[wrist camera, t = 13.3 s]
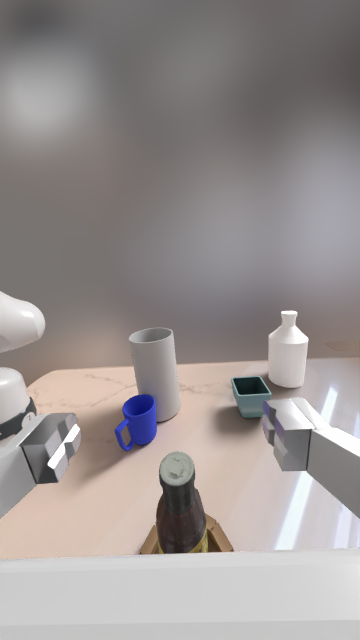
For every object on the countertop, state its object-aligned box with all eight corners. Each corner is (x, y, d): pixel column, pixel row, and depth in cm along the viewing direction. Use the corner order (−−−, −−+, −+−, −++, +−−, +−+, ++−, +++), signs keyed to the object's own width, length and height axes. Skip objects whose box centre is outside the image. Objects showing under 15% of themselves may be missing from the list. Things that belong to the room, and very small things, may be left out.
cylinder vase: (183, 419, 55) (175, 339, 49) (140, 426, 54) (125, 345, 47) (178, 392, 67) (170, 325, 60) (142, 398, 66) (131, 330, 59)
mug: (110, 455, 46) (102, 422, 43) (142, 420, 56) (137, 391, 53) (136, 470, 42) (129, 434, 39) (165, 429, 52) (161, 398, 50)
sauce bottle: (184, 640, 22) (165, 522, 17) (155, 576, 26) (134, 469, 21) (220, 580, 26) (214, 470, 21) (189, 534, 30) (178, 435, 25)
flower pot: (231, 402, 60) (230, 377, 58) (259, 400, 59) (260, 375, 57) (238, 423, 52) (237, 395, 49) (271, 422, 51) (272, 394, 49)
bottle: (269, 367, 77) (271, 308, 71) (303, 373, 71) (309, 308, 65) (265, 383, 67) (267, 316, 61) (305, 391, 61) (312, 317, 55)
